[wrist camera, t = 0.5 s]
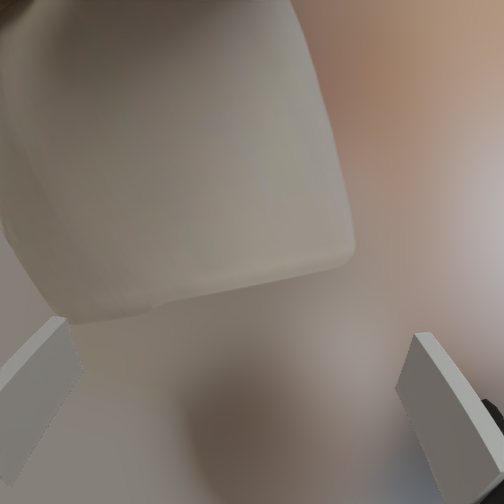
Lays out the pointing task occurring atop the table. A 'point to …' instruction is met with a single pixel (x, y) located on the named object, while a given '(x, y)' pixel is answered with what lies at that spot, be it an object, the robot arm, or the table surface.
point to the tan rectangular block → (5, 3)
